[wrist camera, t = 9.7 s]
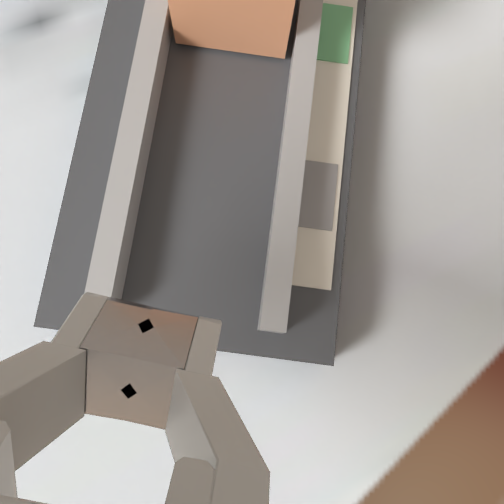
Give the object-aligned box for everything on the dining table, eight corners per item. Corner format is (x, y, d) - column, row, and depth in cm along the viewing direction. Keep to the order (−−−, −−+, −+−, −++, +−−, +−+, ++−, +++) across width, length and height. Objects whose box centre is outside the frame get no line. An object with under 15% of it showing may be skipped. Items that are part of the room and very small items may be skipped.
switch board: (323, 363, 20) (342, 367, 16) (53, 328, 19) (15, 324, 16) (361, -48, 24) (382, -113, 21) (143, -80, 24) (128, -151, 20)
